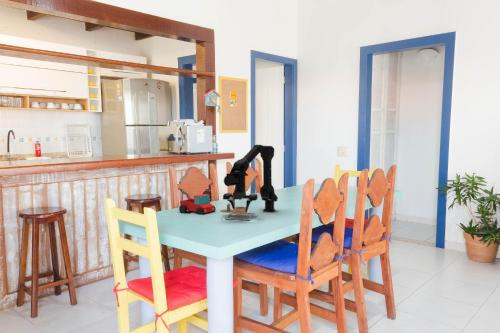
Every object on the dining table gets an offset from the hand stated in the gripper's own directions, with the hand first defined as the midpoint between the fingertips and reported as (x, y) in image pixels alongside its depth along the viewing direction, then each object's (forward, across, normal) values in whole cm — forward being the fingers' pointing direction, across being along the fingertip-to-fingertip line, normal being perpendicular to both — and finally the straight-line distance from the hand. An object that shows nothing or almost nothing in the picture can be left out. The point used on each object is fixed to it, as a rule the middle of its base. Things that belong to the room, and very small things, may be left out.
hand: (240, 211), depth 219 cm
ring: (+1, 0, 0) cm, 1 cm away
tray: (+3, 0, 0) cm, 3 cm away
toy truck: (+4, -28, +8) cm, 29 cm away
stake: (+3, -10, +12) cm, 16 cm away
